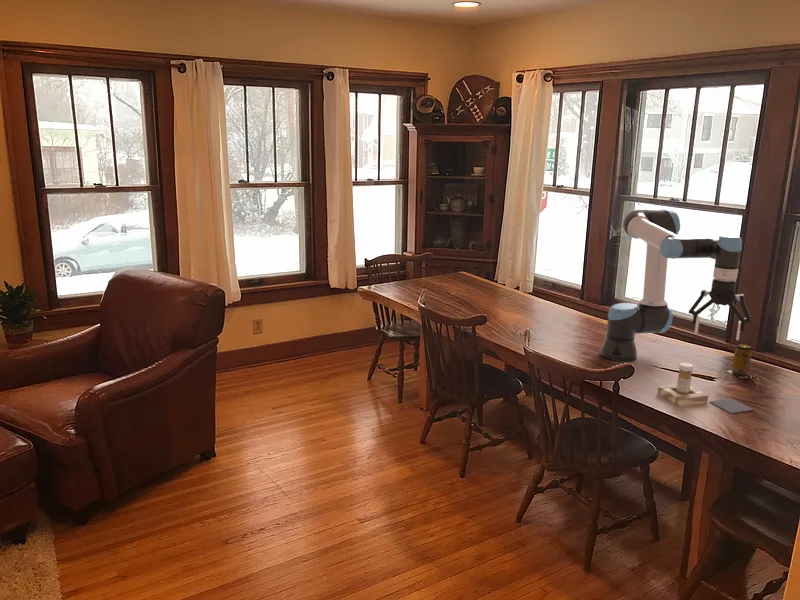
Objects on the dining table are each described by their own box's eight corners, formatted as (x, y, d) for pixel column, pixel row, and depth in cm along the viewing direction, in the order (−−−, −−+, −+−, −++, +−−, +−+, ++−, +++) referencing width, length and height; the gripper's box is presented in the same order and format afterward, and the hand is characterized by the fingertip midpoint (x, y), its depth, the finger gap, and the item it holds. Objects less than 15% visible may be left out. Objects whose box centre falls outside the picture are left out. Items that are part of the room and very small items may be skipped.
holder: (657, 393, 234) (658, 386, 233) (683, 390, 237) (684, 383, 237) (680, 406, 223) (681, 399, 222) (707, 402, 226) (708, 395, 226)
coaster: (709, 402, 227) (709, 401, 227) (731, 399, 230) (731, 398, 229) (730, 413, 217) (731, 412, 217) (753, 410, 220) (753, 409, 220)
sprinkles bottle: (678, 394, 233) (682, 361, 230) (690, 398, 230) (695, 364, 227) (673, 398, 230) (677, 364, 227) (685, 402, 227) (690, 367, 224)
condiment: (741, 370, 259) (745, 342, 256) (756, 377, 251) (761, 349, 248) (726, 371, 257) (730, 343, 254) (740, 378, 249) (745, 350, 246)
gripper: (685, 276, 223) (677, 332, 229) (764, 285, 210) (754, 344, 216) (688, 273, 229) (681, 327, 235) (765, 281, 217) (756, 339, 222)
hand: (716, 336), depth 225 cm, fingers open, 13 cm apart
